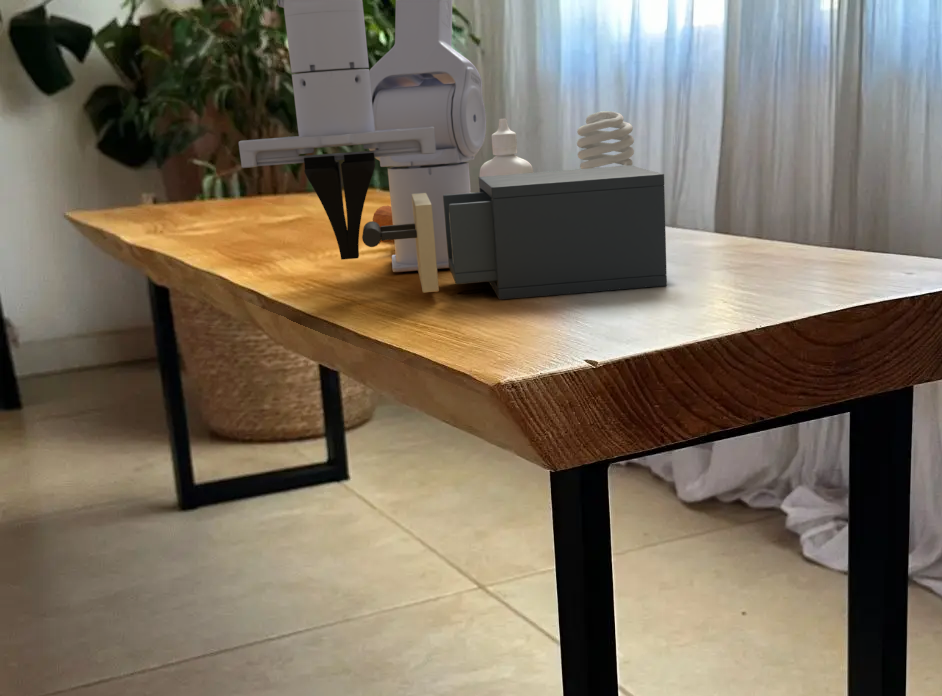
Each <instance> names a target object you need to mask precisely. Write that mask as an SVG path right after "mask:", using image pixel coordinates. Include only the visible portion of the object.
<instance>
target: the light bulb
mask: <svg viewBox="0 0 942 696" xmlns="http://www.w3.org/2000/svg"><path fill="white" fill-rule="evenodd" d="M624 120H625V119H624V116H623V115H622V114H621V113H619V112H617V111H612V110H604V111H603V110H601V111H597V112H594V113H592V114H589V115H587V116H586V119H585V124H584V125H581V126H579V128H578V129H577V131H576V132H577V133H576V134H577V135H578V136H580V137H581V138H579V139H578V140H576V141H577V142H576V146H577V147H578V148H579V149H581V150H579V151H578V152H577V158H578V159H579V160H582V161H583V162H581V163H580V165H579V169H588V168H600V167H605V166H607V165H608V166H609V165H612V164H617V165H621V166H627V165H631V166H633V160H632V159H631V158H632V156H633V155H634V154H635V149H634V148H633V147H632V145H633V144H634V143H635V139H634V136H632V135H631V133H632V132H633V129H634V127H633V125H632V124H631V123H629V122H627V121H624ZM608 128H614V129H613V130H604V129H608ZM610 140H611V141H612V140H613V141H615V140H616V141H615V142H606V141H610ZM612 152H616V153H617V154H607V153H612Z"/></svg>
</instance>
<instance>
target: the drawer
mask: <svg viewBox="0 0 942 696" xmlns="http://www.w3.org/2000/svg"><path fill="white" fill-rule="evenodd" d="M443 202H444V215H445V227H446V239H447V252H448V264H449V268H448V269H449V271H450V273H451V276H452V278H453V280H454V283H455V285H464V284H474V283H475V284H476V283H477V284H478V283H489V282H490V281H497V272H496V257H495V243H494V228H493V214H492V198H491V197H490V196H489V195H488V194H487V193H486V192H480V191H476V192H475V191H474V192H471V193H460V194H447V195H443ZM412 205H413V216H414V223H413V224H401V225H388V226H381V228H380V226H379V224H378V223H376V222H373V220H372V221H368V222H366V223H365V224H364V226H363V228H362V235H361V239H362V242H363V244H364V245H365V246H366V247H369V248H374V247H377V246H379V245H380V243H381V241H383V242H384V241H394V240H396V239H408V238H415V239H416V250H417V261H418V270H417V272H418V276H419V281H420V285H421V290H422V293H423V294H424V293H433V292H435V293H437V292H439V291H440V288H439V276H438V269H437V262H436V250H435V238H434V226H433V214H432V205H431V202H430V200H429V198H428V196H427V194H426V193H418V194H412ZM449 213H450V220H449ZM450 225H451V233H450ZM451 238H452V245H451ZM452 250H453V258H452ZM453 263H454V265H453Z"/></svg>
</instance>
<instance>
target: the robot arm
mask: <svg viewBox="0 0 942 696" xmlns="http://www.w3.org/2000/svg"><path fill="white" fill-rule="evenodd" d="M276 2H277V6H278V7H279V8H283V13H284V21H285V22H284V23H285V30H286V39H287V46H288V55H289V63H290V72H291V80H292V89H293V97H294V98H293V99H294V106H295V107H294V108H295V114H296V124H297V132H298V135H297V136H295V135H293V136H284V137H282V136H281V137H272V138H270V137H269V138H260V139H259V138H258V139H248V140H247V139H245V140H240V141H238V150H239V157H240V164H241V168H242V169H249V168H256V167H265V166H266V167H268V166H278V165H280V166H281V165H292V164H304V169H303V172H304V175H305V176H306V178H307V180H308V182H309V183H310V185H311V187H312V188H313V190H314V192H315V194H316V195H317V198H318V199H319V201H320V203H321V205H322V207H323V209H324V212H325V213H326V216H327V218H328V220H329V222H330V225H331V228H332V231H333V233H334V236H335V240H336V243H337V246H338V250H339V255H340V260H342V261H343V260H354V259H359V257H360V252H359V251H360V249H359V245H360V244H359V243H360V242H359V241H360V229H361V222H362V216H363V210H364V207H365V203H366V197H367V194H368V191H369V186H370V184H371V181H372V177H373V174H374V171H375V168H376V160H378V161H379V166H380V167H381V168H385V167H386V168H387V177H388V187H389V197H390V206H391V210H392V221H393V225H401V224H413V223H414V216H413V205H412V194H418V193H426V194H427V196H428V198H429V200H430V202H431V205H432V214H433V226H434V238H435V250H436V262H437V270H440V269H441V270H442V269H450V268H449V264H448V252H447V239H446V227H445V215H444V202H443V195H447V194H460V193H472V190H471V189H472V188H471V175H470V163H469V161H473V160H475V158H476V156H477V155H478V153H479V152H480V149H482V147H483V146H484V143H485V140H486V139H485V138H486V135H487V134H486V133H487V112H486V106H485V101H484V94H483V79H482V76H481V74H480V72H479V70H478V69H477V66H476V65H474V64H473V63H472V62H471V61H470V60H469V59H468V58H467V57H465V55H463V54H461V53H460V52H458V50H456V49H454V48H453V47H452V35H453V34H452V33H453V0H395V21H394V22H395V23H394V45H393V46H392V47H391V48H390V49H389V51H387V52H386V53H385V54H384V55H383V56H382V57H381V58H379V60H378V61H377V62H376V63H374V64H373V66H372V67H371V68H370V63H369V54H368V53H369V52H368V43H367V33H366V24H365V23H366V22H365V12H364V3H363V0H276ZM369 68H370V69H369ZM357 145H362V146H363V149H364V150H363V151H362V150H361V151H350V152H335V153H321V154H313V153H315V149H318V148H319V149H321V148H334V147H349V146H357ZM304 154H305V155H304ZM307 154H308V155H307ZM340 161H342V162H341V163H340ZM342 184H343V187H342ZM343 191H344V192H343ZM343 193H344V196H343ZM343 197H344V198H343ZM344 200H345V207H344ZM344 208H345V209H344ZM345 210H346V211H345ZM345 212H346V216H345ZM393 242H394V250H395V251H394V252H395V254H392V255H391V269H392V272H393V273H403V272H405V273H406V272H415V271H417V272H418V261H417V250H416V239H415V238H408V239H396V240H393Z"/></svg>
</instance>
